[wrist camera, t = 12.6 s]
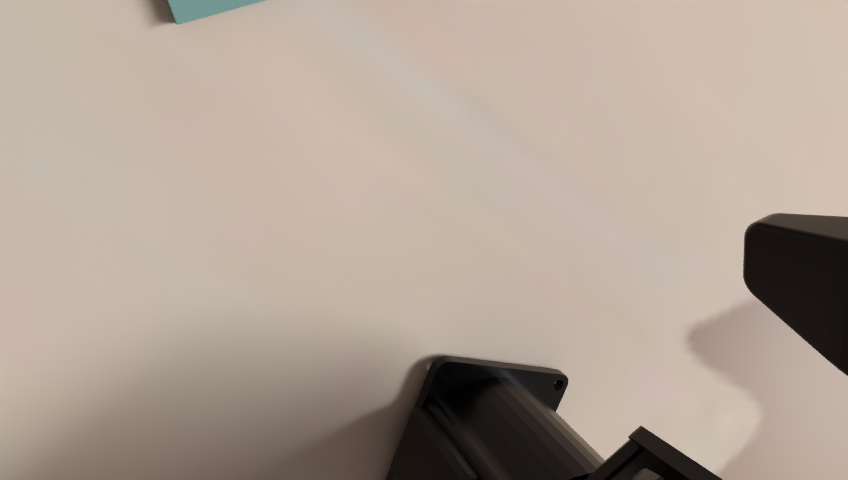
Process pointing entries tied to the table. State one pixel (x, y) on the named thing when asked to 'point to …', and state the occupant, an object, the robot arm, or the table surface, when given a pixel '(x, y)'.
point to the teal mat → (203, 8)
